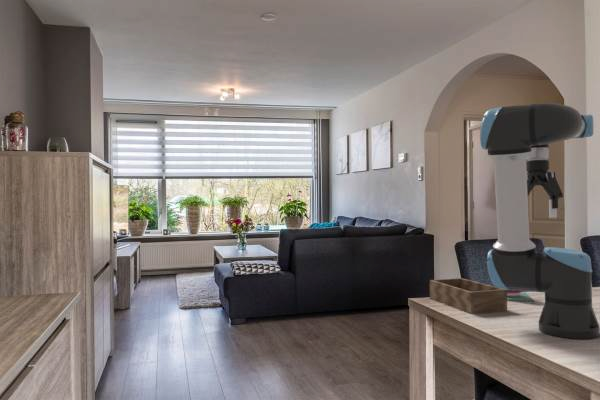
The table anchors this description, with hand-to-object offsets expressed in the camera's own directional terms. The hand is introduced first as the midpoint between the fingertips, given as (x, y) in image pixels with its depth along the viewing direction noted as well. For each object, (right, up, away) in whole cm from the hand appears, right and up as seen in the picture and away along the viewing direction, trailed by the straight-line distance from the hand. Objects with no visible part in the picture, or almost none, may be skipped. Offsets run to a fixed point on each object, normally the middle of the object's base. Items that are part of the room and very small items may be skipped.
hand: (538, 217), depth 178 cm
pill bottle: (-8, -30, +7) cm, 32 cm away
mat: (-8, -31, +7) cm, 32 cm away
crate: (-28, -31, -5) cm, 42 cm away
